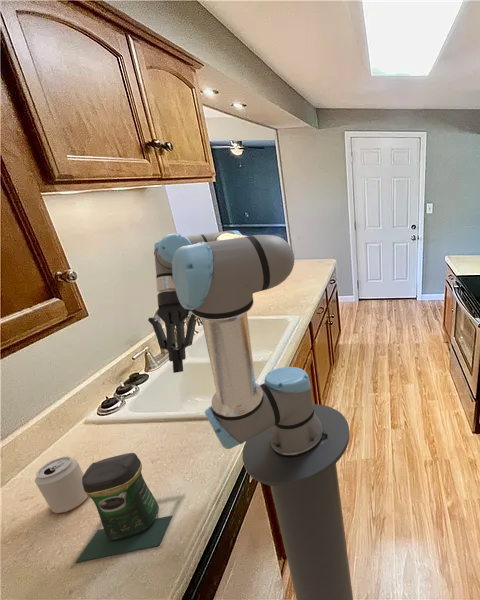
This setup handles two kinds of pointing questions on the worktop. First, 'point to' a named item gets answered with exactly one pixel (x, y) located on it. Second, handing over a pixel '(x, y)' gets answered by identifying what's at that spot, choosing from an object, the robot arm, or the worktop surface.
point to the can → (61, 484)
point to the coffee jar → (120, 495)
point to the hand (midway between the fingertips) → (178, 372)
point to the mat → (125, 541)
